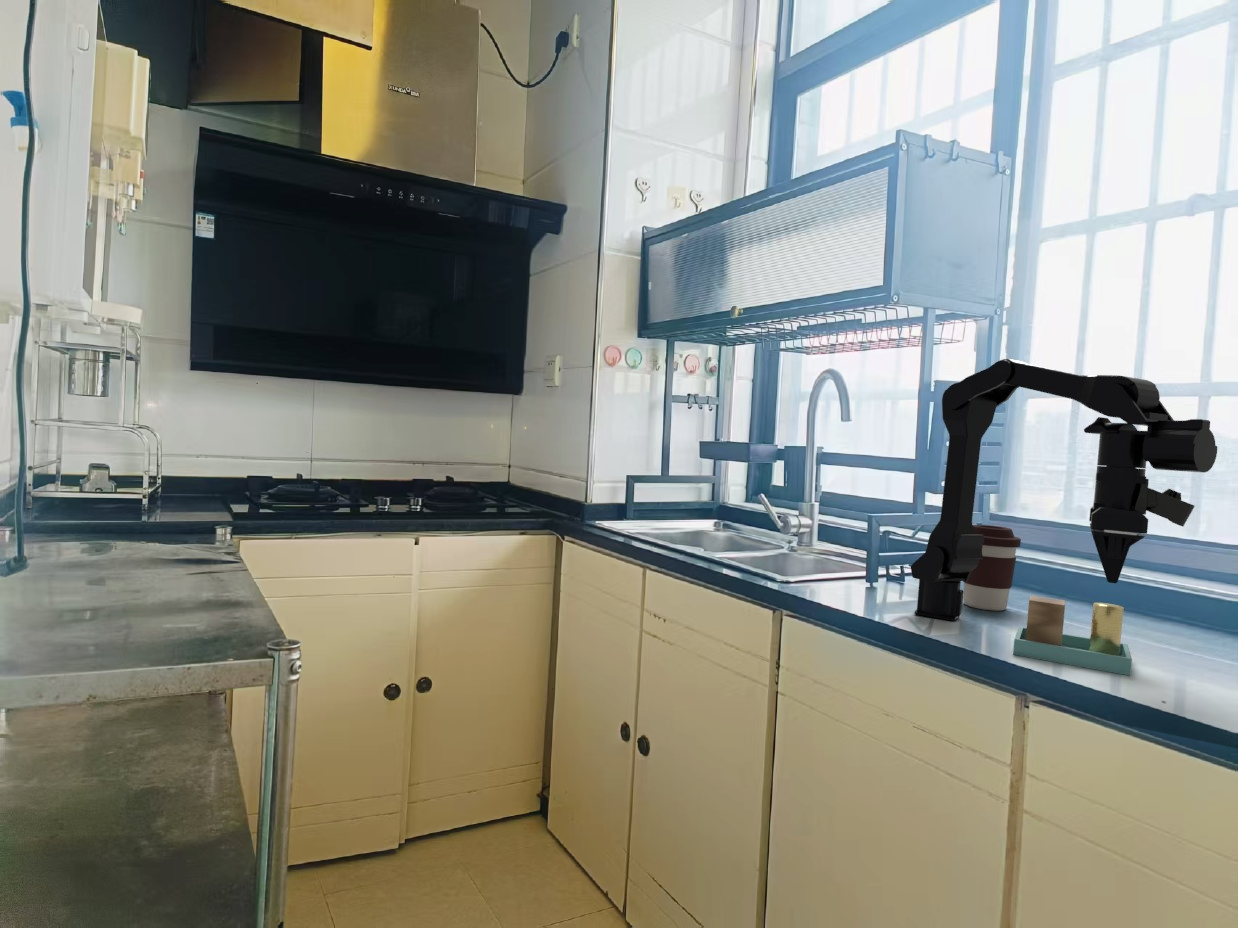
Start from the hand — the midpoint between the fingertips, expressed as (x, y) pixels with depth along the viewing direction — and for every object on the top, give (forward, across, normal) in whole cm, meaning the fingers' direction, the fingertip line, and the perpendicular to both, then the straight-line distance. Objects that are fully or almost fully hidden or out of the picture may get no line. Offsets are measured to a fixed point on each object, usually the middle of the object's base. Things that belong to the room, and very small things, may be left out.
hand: (1111, 578), depth 109 cm
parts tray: (+12, 0, +4) cm, 13 cm away
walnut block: (+11, 0, +8) cm, 14 cm away
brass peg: (+11, 0, 0) cm, 11 cm away
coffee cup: (+12, +30, +18) cm, 37 cm away
